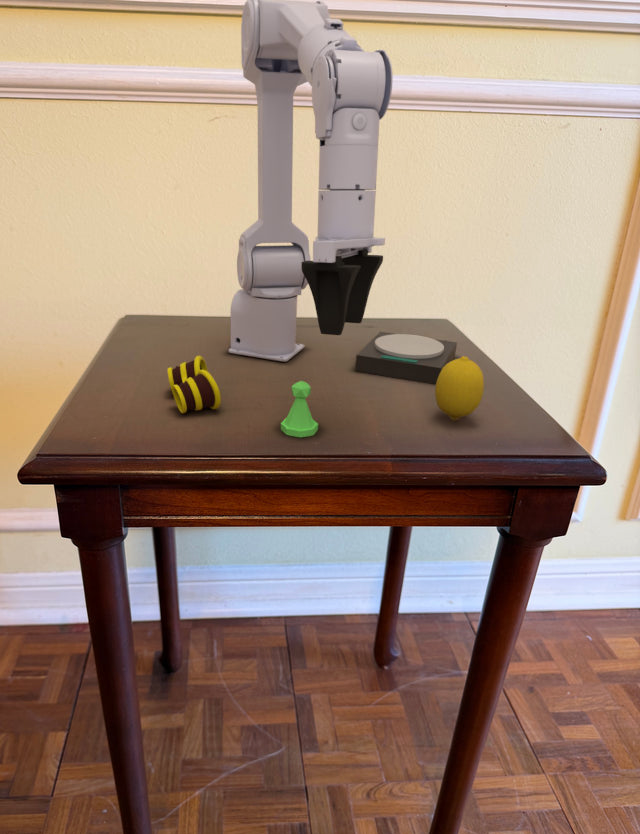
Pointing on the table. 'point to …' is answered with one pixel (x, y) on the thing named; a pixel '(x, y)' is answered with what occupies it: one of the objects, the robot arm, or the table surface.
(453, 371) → the lemon
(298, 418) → the game piece
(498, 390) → the table surface
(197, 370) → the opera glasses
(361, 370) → the scale
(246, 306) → the robot arm
